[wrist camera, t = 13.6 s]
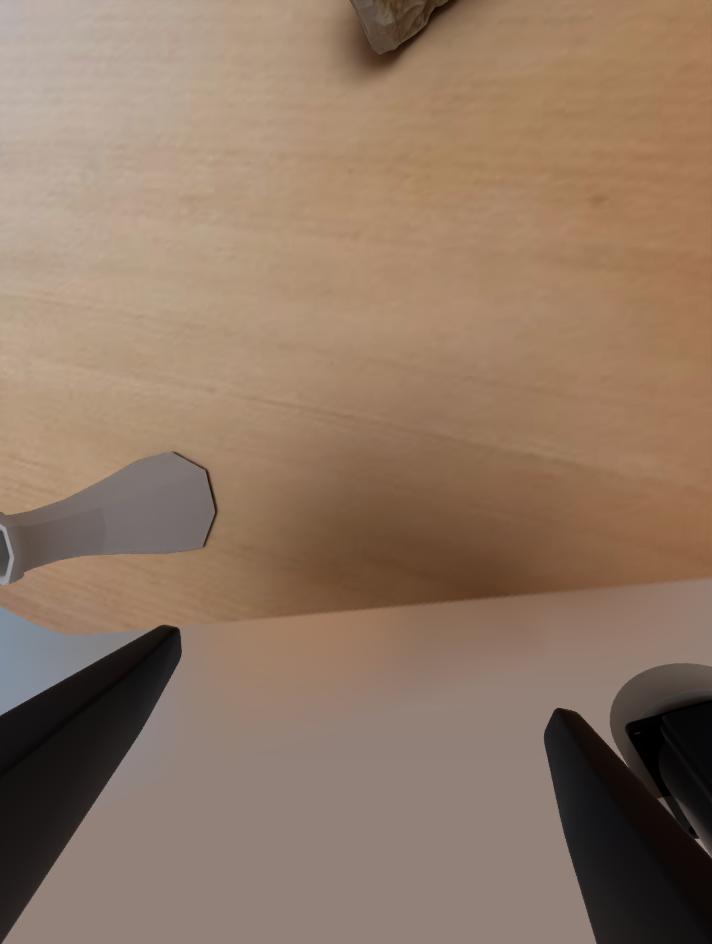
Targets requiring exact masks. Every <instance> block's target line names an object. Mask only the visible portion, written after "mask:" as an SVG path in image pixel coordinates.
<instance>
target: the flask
mask: <svg viewBox="0 0 712 944" xmlns="http://www.w3.org/2000/svg"><path fill="white" fill-rule="evenodd" d="M214 514H215V509H214V505H213V501H212V496H211V492H210V488H209V484H208V480H207V475H206V471H205V470H204V469H202V468H200V467H198V466H197V465H195V464H193V463H191V462H189V461H187V460H185V459H184V458H182V457H180V456H178V455H176V454H174V453H173V452H169V453H165V454H161V455H157V456H153V457H149V458H145V459H141V460H138V461H136V462H134V463H132V464H130V465H128V466H126V467H125V468H123V469H121V470H119V471H118V472H116V473H114V474H112V475H111V476H109V477H107V478H105V479H104V480H102V481H100V482H98V483H96V484H94V485H92V486H90V487H88V488H86V489H84V490H82V491H80V492H78V493H76V494H74V495H72V496H70V497H68V498H67V499H65V500H62V501H59V502H56V503H53V504H50V505H47V506H44V507H41V508H38V509H35V510H32V511H29V512H24V513H19V514H13V515H5V514H3V513H2V512H0V585H4V584H10V583H13V582H16V581H18V580H19V579H21V578H22V577H23V576H24V572H26V571H28V570H31V569H33V568H36V567H39V566H42V565H46V564H49V563H52V562H55V561H58V560H63V559H69V558H74V557H80V556H89V555H113V554H169V553H175V552H182V551H188V550H195V549H202V547H203V544H204V542H205V539H206V536H207V533H208V531H209V528H210V525H211V522H212V520H213V517H214Z"/></svg>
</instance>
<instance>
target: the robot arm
mask: <svg viewBox="0 0 712 944" xmlns="http://www.w3.org/2000/svg"><path fill="white" fill-rule="evenodd" d="M181 653H182V649H181V636H180V630H179V628H177V627H174V626H169V625H161V626H159V627H157V628H155V629H153V630H152V631H150V632H148V633H146V634H144V635H143V636H141V637H139V638H137V639H136V640H134V641H132V642H130V643H128V644H127V645H125V646H123V647H121V648H120V649H118V650H116V651H114V652H113V653H111V654H109V655H107V656H105V657H104V658H102V659H100V660H98V661H97V662H95V663H93V664H91V665H90V666H88V667H86V668H84V669H82V670H81V671H79V672H77V673H75V674H73V675H72V676H70V677H68V678H67V679H65V680H63V681H61V682H59V683H57V684H56V685H54V686H52V687H50V688H49V689H47V690H45V691H43V692H42V693H40V694H38V695H36V696H34V697H33V698H31V699H29V700H27V701H26V702H24V703H22V704H20V705H18V706H17V707H15V708H13V709H11V710H10V711H8V712H6V713H4V714H2V715H1V716H0V944H2V942H3V940H4V939H5V938H6V936H7V935H8V933H9V931H10V930H11V928H12V927H13V925H14V924H15V922H16V921H17V919H18V918H19V916H20V915H21V913H22V912H23V910H24V909H25V907H26V906H27V904H28V903H29V901H30V900H31V898H32V896H33V895H34V893H35V892H36V891H37V889H38V887H39V886H40V884H41V883H42V881H43V880H44V878H45V877H46V875H47V874H48V872H49V871H50V869H51V867H52V866H53V865H54V863H55V862H56V860H57V859H58V857H59V855H60V854H61V852H62V851H63V849H64V848H65V846H66V845H67V843H68V842H69V840H70V839H71V837H72V836H73V834H74V833H75V831H76V829H77V828H78V827H79V825H80V824H81V822H82V821H83V819H84V818H85V816H86V814H87V813H88V811H89V810H90V808H91V807H92V805H93V804H94V802H95V801H96V799H97V798H98V796H99V795H100V793H101V792H102V790H103V789H104V787H105V785H106V784H107V782H108V781H109V779H110V778H111V776H112V775H113V773H114V772H115V770H116V769H117V767H118V766H119V764H120V763H121V761H122V760H123V758H124V757H125V755H126V754H127V752H128V750H129V749H130V748H131V746H132V744H133V743H134V741H135V740H136V738H137V737H138V735H139V733H140V732H141V730H142V729H143V727H144V725H145V723H146V721H147V720H148V718H149V716H150V714H151V713H152V711H153V709H154V707H155V705H156V703H157V702H158V700H159V698H160V696H161V694H162V692H163V690H164V688H165V687H166V685H167V683H168V681H169V679H170V678H171V676H172V674H173V672H174V670H175V668H176V666H177V665H178V663H179V660H180V658H181ZM625 732H626V734H627V736H628V738H629V739H630V741H631V743H632V744H633V746H634V748H635V750H636V751H637V753H638V755H639V756H640V758H641V760H642V762H643V763H644V765H645V767H646V769H647V770H648V772H649V774H650V775H651V777H652V779H653V781H654V782H655V784H656V786H657V788H658V789H659V791H660V793H661V794H662V796H663V798H664V800H665V801H666V803H667V805H668V806H669V808H670V810H671V812H672V813H673V815H674V817H675V818H674V817H673V815H672V814H671V813H670V812H669V811H668V810H667V809H666V808H665V807H664V806H663V805H662V803H661V802H660V801H659V800H658V799H657V798H656V797H655V796H654V795H653V794H652V793H651V792H650V790H649V789H648V788H647V787H646V786H645V785H644V784H643V783H642V782H641V781H640V780H639V778H638V777H637V776H636V775H635V774H634V773H633V772H632V771H631V770H630V769H629V768H628V767H627V766H626V764H625V763H624V762H623V761H622V760H621V759H620V758H619V757H618V756H617V755H616V754H615V752H614V751H613V750H612V749H611V748H610V747H609V746H608V745H607V744H606V743H605V742H604V740H602V738H601V737H600V736H599V735H598V734H597V733H596V732H595V731H594V730H593V728H592V727H591V726H590V725H589V724H588V723H587V722H586V721H585V720H584V719H583V718H582V717H581V716H580V715H579V714H578V713H577V712H575V711H572V710H567V709H562V708H557V709H555V710H554V712H553V714H552V717H551V718H550V721H549V723H548V725H547V727H546V729H545V733H544V743H545V748H546V753H547V757H548V762H549V767H550V771H551V776H552V781H553V785H554V790H555V795H556V800H557V804H558V809H559V814H560V818H561V822H562V827H563V831H564V835H565V838H566V842H567V846H568V849H569V853H570V856H571V859H572V863H573V866H574V869H575V873H576V876H577V879H578V882H579V886H580V889H581V893H582V896H583V899H584V903H585V906H586V909H587V913H588V916H589V919H590V923H591V926H592V929H593V933H594V936H595V939H596V943H597V944H712V858H711V857H712V700H710V701H707V702H703V703H699V704H695V705H692V706H688V707H684V708H681V709H677V710H673V711H669V712H666V713H662V714H658V715H655V716H651V717H647V718H643V719H640V720H636V721H632V722H629V723H627V724H626V726H625ZM637 732H640V734H635V733H637ZM695 839H700V840H701V841H702V843H703V844H704V846H705V847H706V849H707V850H708V852H709V854H710V855H711V857H710V856H709V855H708V853H707V852H706V851H705V850H704V849H703V848H702V847H701V846H700V845H699V844H698V843H697V842H696V840H695Z"/></svg>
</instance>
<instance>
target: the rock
mask: <svg viewBox="0 0 712 944" xmlns="http://www.w3.org/2000/svg"><path fill="white" fill-rule="evenodd" d="M350 1H351V3H352V5H353V7H354V9H355V11H356V13H357V16H358V18H359V21H360V23H361V25H362V28H363V30H364V32H365V34H366V36H367V39H368V40H369V42H370V45H371V48H372V50H374V51H375V52H377V53H378V54H382V53H385V52H387V51H391V50H394V49H396V48H397V47H398V46H399V45H400V44H401V43H403V42H404V41H406V40H407V39H409V38H410V37H412V36H413V35H415V34H416V33H417V32H419V31H420V30H421V29H422V28H423V27H424V26H425V25H426V24H427V22H428V19H429V15H430V14H431V12H432V11H433V10H434V8H435V7H438V6H442V5H443V4H445V3H446V2H447V1H449V0H350Z"/></svg>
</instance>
